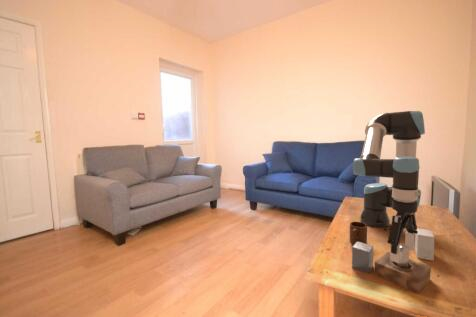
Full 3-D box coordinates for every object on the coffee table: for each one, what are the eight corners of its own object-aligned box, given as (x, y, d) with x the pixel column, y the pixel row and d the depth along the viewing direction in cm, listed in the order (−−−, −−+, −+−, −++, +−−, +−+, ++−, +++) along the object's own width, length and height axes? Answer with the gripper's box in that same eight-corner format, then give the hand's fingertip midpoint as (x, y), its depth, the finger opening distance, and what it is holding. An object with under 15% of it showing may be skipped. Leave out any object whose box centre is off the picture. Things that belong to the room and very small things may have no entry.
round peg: (392, 276, 87) (394, 246, 85) (397, 272, 89) (398, 243, 88) (405, 281, 84) (406, 250, 82) (409, 277, 86) (411, 247, 84)
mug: (362, 251, 105) (362, 232, 104) (344, 246, 110) (345, 228, 109) (368, 241, 114) (368, 223, 113) (352, 237, 119) (352, 220, 118)
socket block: (374, 274, 89) (374, 261, 88) (387, 262, 96) (388, 251, 95) (418, 293, 77) (418, 279, 77) (430, 279, 84) (430, 266, 84)
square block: (352, 267, 93) (352, 246, 92) (356, 261, 98) (357, 241, 97) (368, 273, 89) (368, 251, 88) (372, 266, 93) (373, 246, 92)
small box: (433, 261, 95) (435, 237, 94) (416, 258, 98) (417, 234, 97) (430, 252, 102) (431, 230, 101) (414, 249, 105) (415, 227, 104)
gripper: (402, 209, 73) (400, 272, 75) (428, 195, 87) (426, 247, 90) (377, 204, 79) (375, 262, 81) (405, 191, 93) (403, 241, 96)
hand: (402, 254), depth 85 cm, fingers open, 13 cm apart
